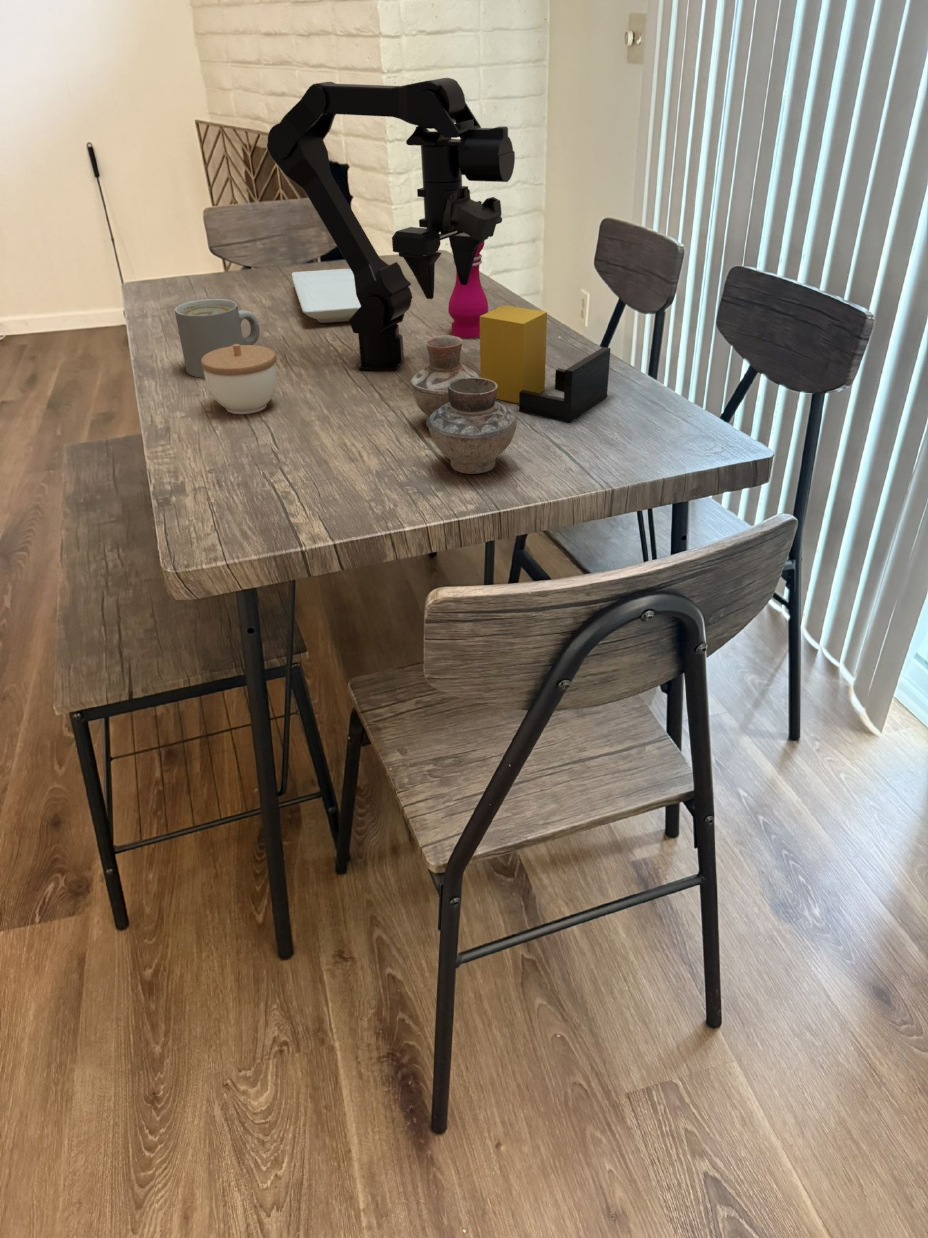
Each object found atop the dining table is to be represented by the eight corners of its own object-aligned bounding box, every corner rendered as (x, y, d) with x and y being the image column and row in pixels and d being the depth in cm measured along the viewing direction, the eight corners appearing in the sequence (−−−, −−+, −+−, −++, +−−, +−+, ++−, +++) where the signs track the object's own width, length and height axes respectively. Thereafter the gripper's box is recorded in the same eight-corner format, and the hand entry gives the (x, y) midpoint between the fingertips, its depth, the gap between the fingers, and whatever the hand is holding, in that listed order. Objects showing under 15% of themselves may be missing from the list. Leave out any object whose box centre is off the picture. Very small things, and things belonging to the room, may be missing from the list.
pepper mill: (442, 336, 161) (438, 217, 150) (458, 325, 167) (455, 209, 156) (479, 340, 159) (478, 220, 148) (494, 329, 165) (494, 211, 153)
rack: (518, 411, 131) (519, 360, 127) (557, 386, 139) (559, 338, 135) (569, 422, 127) (572, 371, 123) (607, 397, 135) (610, 347, 131)
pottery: (473, 407, 133) (472, 326, 126) (528, 477, 113) (530, 385, 106) (399, 416, 130) (394, 334, 124) (441, 489, 111) (438, 396, 104)
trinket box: (220, 425, 129) (208, 361, 124) (202, 402, 137) (190, 340, 131) (291, 411, 133) (283, 348, 128) (270, 389, 141) (261, 329, 135)
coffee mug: (193, 381, 144) (181, 319, 139) (181, 363, 152) (168, 303, 146) (274, 368, 149) (265, 307, 143) (257, 351, 157) (249, 292, 151)
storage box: (479, 395, 137) (478, 315, 130) (503, 381, 142) (503, 304, 135) (522, 404, 133) (523, 323, 127) (544, 390, 138) (547, 311, 131)
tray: (369, 281, 195) (368, 265, 193) (394, 322, 169) (392, 303, 167) (292, 288, 192) (289, 271, 190) (304, 330, 166) (302, 311, 164)
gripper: (451, 193, 119) (456, 313, 128) (523, 173, 131) (523, 283, 140) (385, 188, 124) (394, 303, 133) (461, 169, 137) (464, 275, 145)
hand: (447, 291), depth 138 cm, fingers open, 9 cm apart
